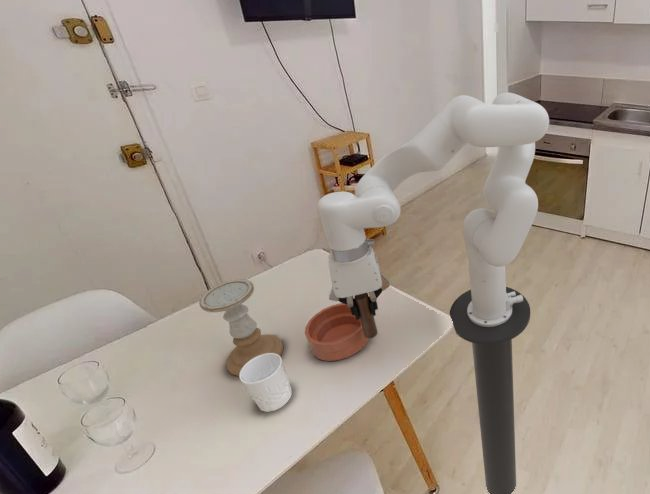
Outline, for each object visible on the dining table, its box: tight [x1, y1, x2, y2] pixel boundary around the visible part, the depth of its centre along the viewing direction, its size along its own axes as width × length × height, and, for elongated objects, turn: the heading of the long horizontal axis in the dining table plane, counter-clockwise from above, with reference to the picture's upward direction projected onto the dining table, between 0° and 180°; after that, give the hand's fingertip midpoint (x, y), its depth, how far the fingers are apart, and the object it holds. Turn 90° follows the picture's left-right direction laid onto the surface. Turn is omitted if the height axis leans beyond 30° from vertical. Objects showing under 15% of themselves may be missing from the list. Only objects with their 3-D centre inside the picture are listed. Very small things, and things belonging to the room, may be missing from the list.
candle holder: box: [199, 278, 284, 377], centre depth 96 cm, size 12×12×20 cm
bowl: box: [304, 302, 371, 362], centre depth 103 cm, size 15×15×6 cm
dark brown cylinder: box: [353, 292, 378, 339], centre depth 96 cm, size 3×3×12 cm
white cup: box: [238, 353, 293, 413], centre depth 88 cm, size 8×8×10 cm
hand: (365, 313), depth 95 cm, fingers closed on dark brown cylinder, 3 cm apart
